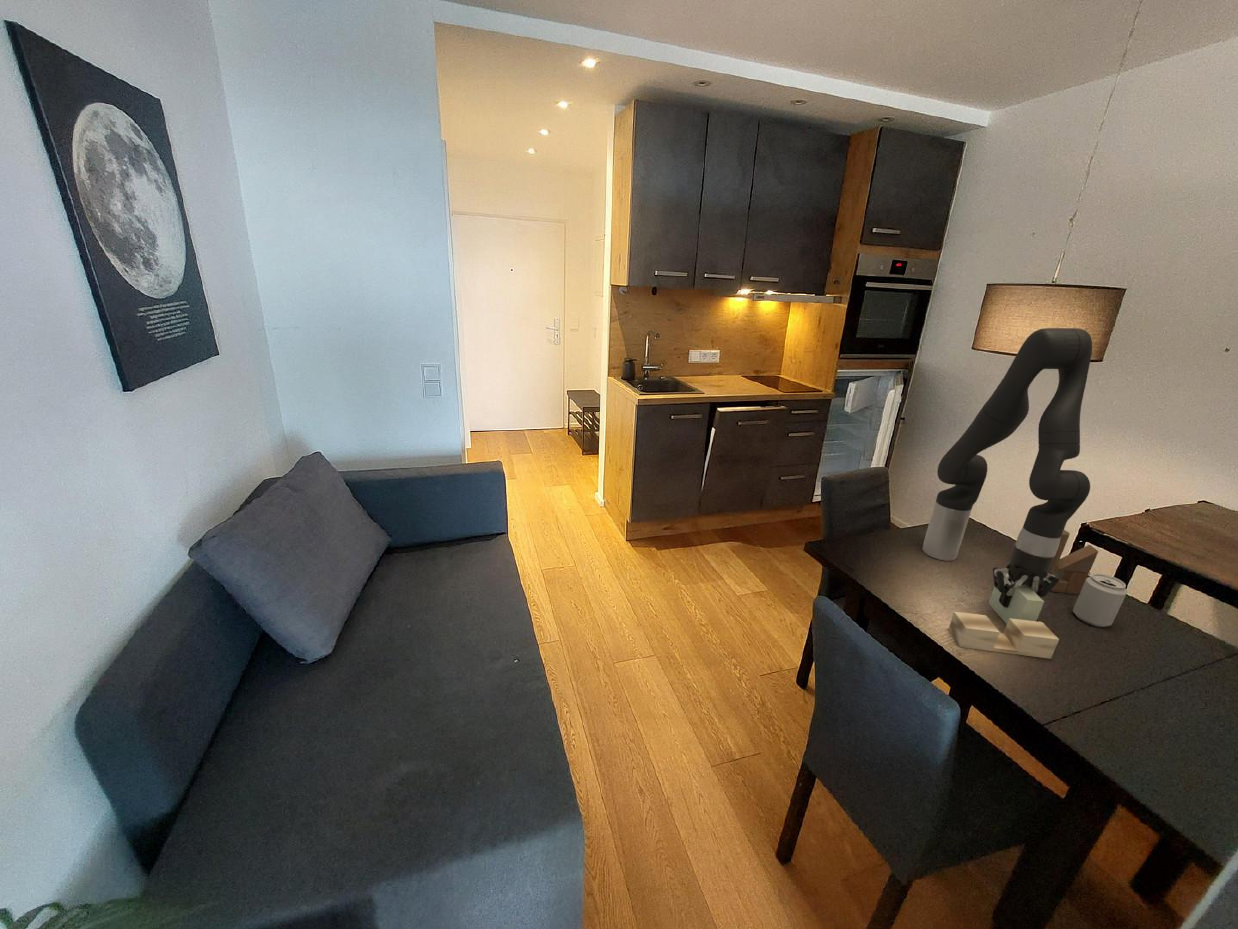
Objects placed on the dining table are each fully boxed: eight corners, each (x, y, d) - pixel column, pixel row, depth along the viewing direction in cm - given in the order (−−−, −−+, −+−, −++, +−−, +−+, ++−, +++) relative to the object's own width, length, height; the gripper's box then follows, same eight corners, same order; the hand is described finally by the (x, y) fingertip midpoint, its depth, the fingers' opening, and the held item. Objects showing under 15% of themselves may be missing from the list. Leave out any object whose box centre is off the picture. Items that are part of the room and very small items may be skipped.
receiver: (948, 629, 118) (954, 611, 116) (1034, 640, 115) (1042, 622, 113) (959, 647, 112) (966, 628, 110) (1050, 658, 109) (1059, 639, 107)
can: (1071, 619, 122) (1088, 579, 118) (1071, 606, 128) (1088, 567, 123) (1111, 633, 118) (1131, 592, 113) (1110, 619, 123) (1129, 579, 118)
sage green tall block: (988, 603, 128) (999, 571, 125) (1003, 605, 128) (1014, 573, 124) (1014, 633, 117) (1027, 599, 114) (1030, 635, 117) (1044, 601, 113)
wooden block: (1079, 595, 132) (1104, 538, 125) (1035, 589, 134) (1057, 533, 128) (1071, 587, 135) (1095, 532, 129) (1027, 582, 138) (1048, 527, 131)
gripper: (1058, 543, 117) (1035, 601, 123) (994, 537, 119) (974, 594, 126) (1080, 559, 110) (1054, 620, 116) (1011, 552, 113) (989, 612, 119)
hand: (1013, 606), depth 121 cm, fingers open, 3 cm apart
